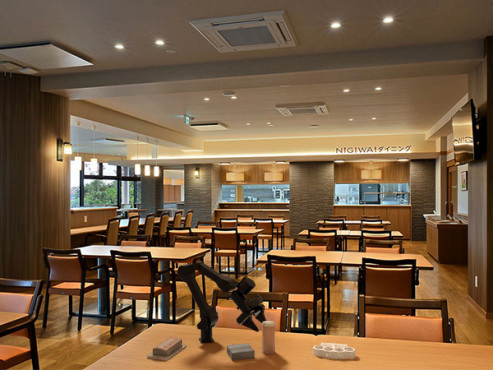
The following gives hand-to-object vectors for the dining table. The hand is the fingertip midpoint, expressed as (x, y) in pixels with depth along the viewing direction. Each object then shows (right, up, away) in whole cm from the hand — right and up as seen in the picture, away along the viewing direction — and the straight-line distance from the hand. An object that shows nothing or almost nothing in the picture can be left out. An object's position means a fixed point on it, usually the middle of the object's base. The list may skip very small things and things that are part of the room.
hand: (263, 328), depth 195 cm
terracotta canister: (+2, -10, -2) cm, 10 cm away
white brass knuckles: (+31, -10, -4) cm, 33 cm away
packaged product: (-43, -11, -1) cm, 44 cm away
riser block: (-10, -10, -5) cm, 15 cm away
